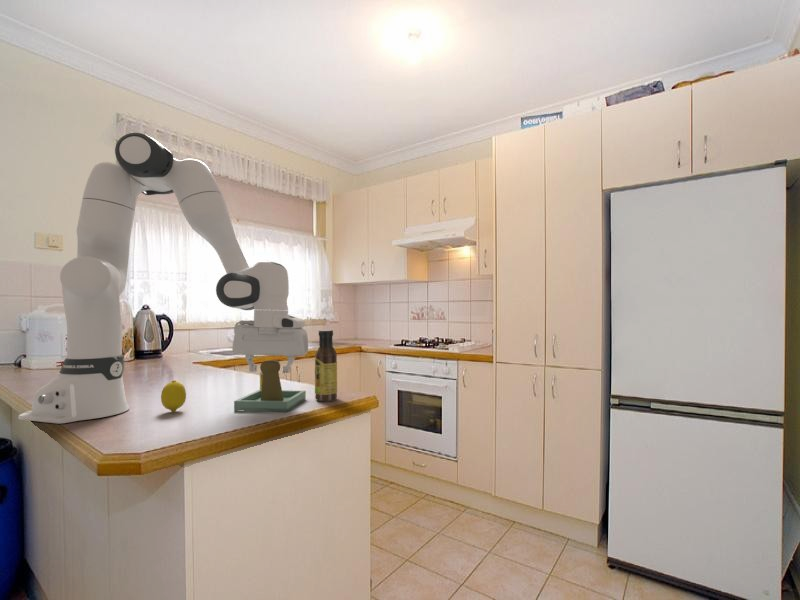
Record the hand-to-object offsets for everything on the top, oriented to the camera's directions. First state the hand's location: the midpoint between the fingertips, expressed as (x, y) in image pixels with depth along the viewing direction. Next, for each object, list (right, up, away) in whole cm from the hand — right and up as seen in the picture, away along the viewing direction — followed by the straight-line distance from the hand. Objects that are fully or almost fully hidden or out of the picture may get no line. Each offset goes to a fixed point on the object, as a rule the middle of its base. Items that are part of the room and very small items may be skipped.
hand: (269, 372), depth 108 cm
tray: (+1, -9, 0) cm, 9 cm away
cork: (+1, -8, 0) cm, 8 cm away
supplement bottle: (-5, -10, +15) cm, 18 cm away
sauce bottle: (+14, -9, +6) cm, 18 cm away
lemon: (-22, -9, -7) cm, 25 cm away
